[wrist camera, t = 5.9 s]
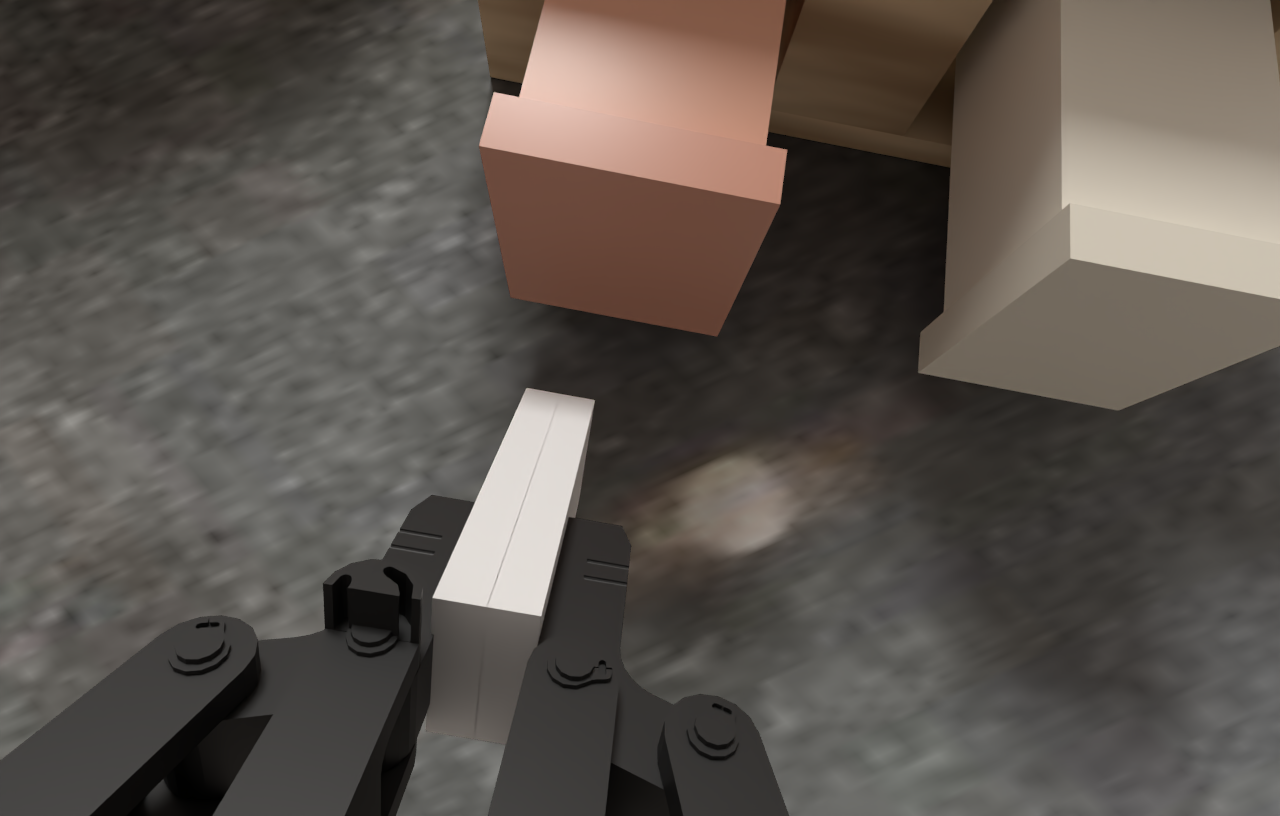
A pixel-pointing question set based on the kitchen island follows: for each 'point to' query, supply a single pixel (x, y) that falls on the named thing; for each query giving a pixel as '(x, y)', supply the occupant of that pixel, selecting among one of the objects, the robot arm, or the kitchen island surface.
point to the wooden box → (833, 68)
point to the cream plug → (1111, 198)
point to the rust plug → (638, 158)
